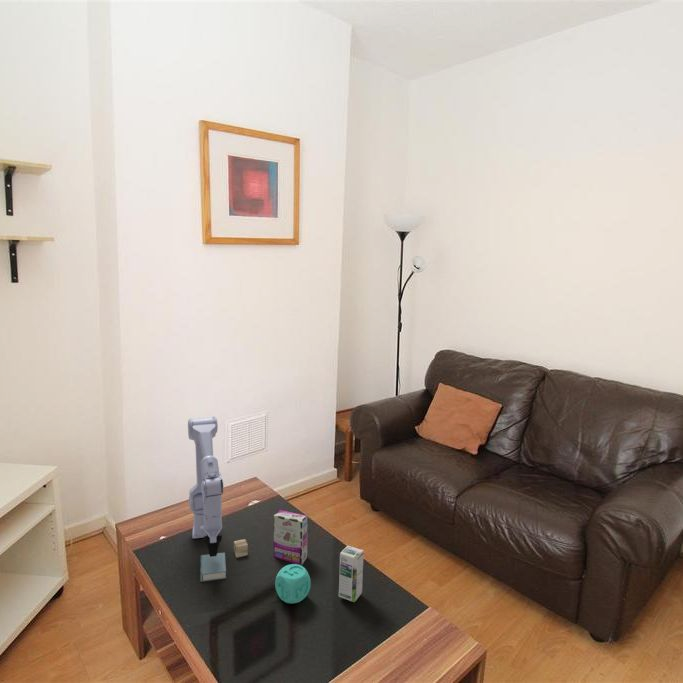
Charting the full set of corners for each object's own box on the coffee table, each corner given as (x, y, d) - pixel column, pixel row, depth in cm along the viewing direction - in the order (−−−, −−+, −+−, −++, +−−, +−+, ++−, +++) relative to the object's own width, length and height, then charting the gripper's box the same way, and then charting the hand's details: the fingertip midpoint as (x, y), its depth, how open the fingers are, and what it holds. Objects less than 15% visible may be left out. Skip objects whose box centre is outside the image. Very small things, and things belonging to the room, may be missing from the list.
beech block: (233, 554, 171) (233, 541, 170) (245, 552, 172) (245, 539, 172) (236, 560, 167) (236, 547, 167) (247, 558, 169) (247, 544, 168)
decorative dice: (274, 594, 150) (274, 570, 149) (294, 583, 155) (294, 560, 154) (290, 607, 144) (291, 582, 143) (311, 595, 150) (311, 571, 149)
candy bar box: (307, 559, 169) (308, 515, 167) (301, 567, 164) (302, 522, 162) (279, 552, 173) (280, 508, 171) (272, 559, 168) (272, 515, 166)
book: (200, 563, 166) (200, 555, 165) (224, 559, 168) (224, 552, 168) (200, 582, 155) (200, 574, 155) (226, 578, 157) (226, 570, 157)
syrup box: (337, 597, 149) (339, 553, 148) (346, 586, 155) (347, 544, 153) (354, 603, 147) (355, 558, 145) (362, 592, 152) (364, 549, 150)
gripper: (200, 504, 165) (200, 541, 166) (199, 525, 151) (200, 566, 153) (221, 502, 167) (221, 539, 168) (223, 522, 153) (223, 563, 155)
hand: (213, 551), depth 161 cm, fingers open, 4 cm apart
